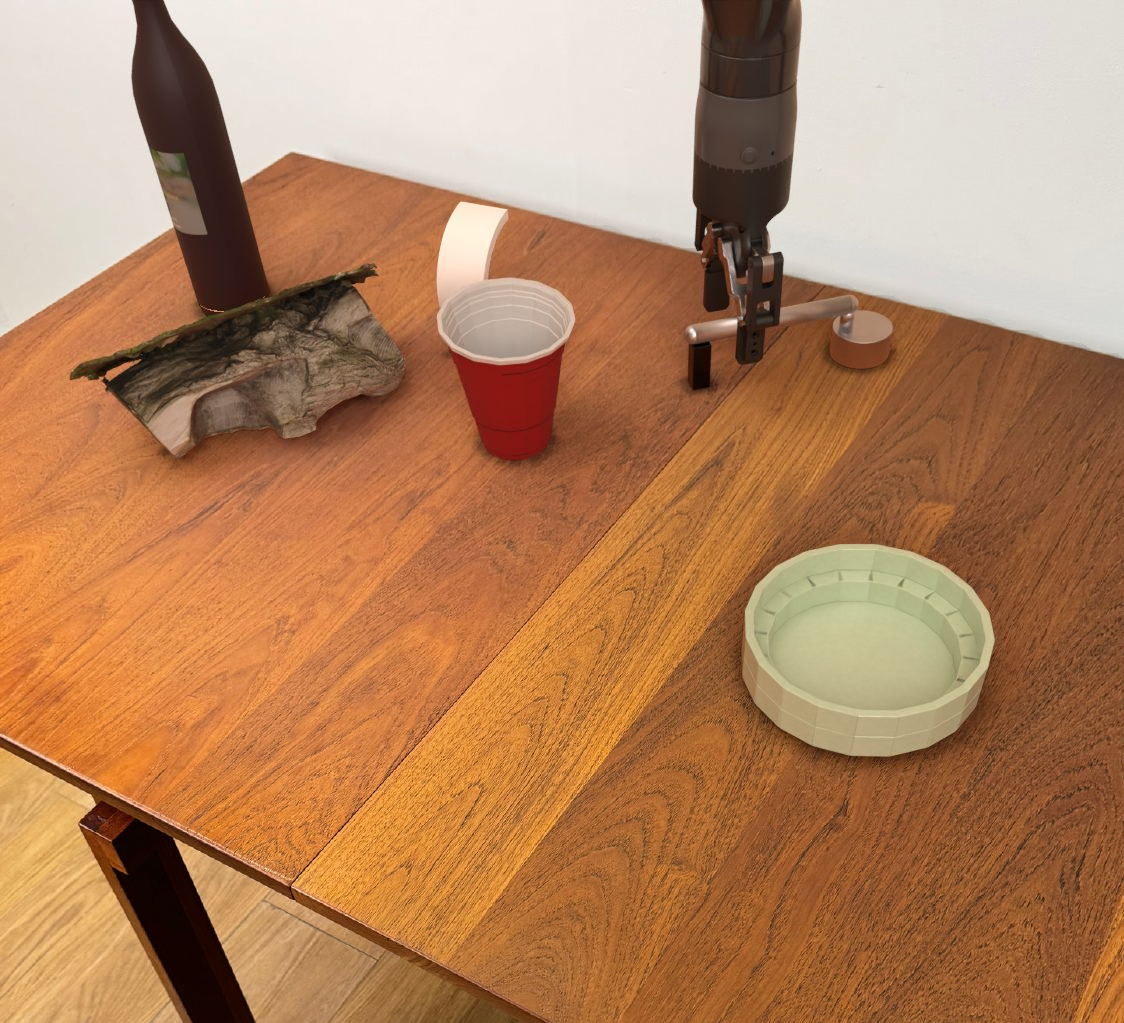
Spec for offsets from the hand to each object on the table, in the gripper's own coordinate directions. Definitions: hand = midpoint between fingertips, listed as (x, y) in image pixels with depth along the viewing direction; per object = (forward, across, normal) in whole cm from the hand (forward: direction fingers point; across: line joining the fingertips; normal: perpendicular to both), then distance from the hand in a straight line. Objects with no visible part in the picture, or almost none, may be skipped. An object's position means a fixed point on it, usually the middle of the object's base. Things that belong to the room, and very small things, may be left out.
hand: (731, 334), depth 104 cm
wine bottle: (+5, +28, +42) cm, 51 cm away
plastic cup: (+5, -3, +20) cm, 21 cm away
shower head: (+4, 0, -5) cm, 7 cm away
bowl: (+4, -36, +3) cm, 36 cm away
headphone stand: (+5, +12, +20) cm, 24 cm away
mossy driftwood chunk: (+5, +8, +41) cm, 42 cm away
